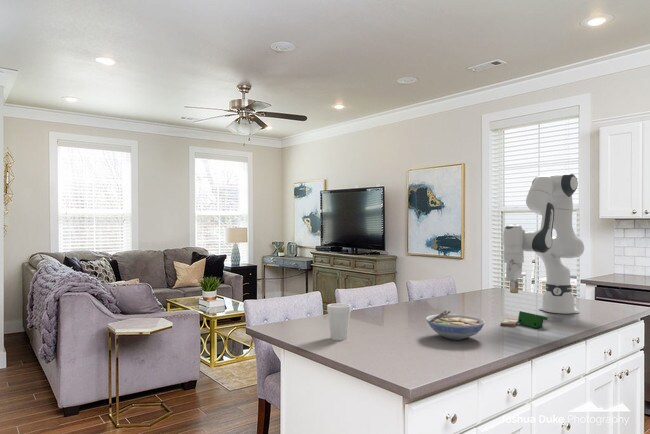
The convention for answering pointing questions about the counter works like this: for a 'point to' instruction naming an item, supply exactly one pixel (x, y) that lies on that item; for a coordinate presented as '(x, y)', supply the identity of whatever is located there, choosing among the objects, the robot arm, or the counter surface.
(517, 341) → the counter surface
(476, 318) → the ramen bowl
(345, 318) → the foam cup
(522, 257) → the robot arm
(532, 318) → the clamp
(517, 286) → the awl
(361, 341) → the counter surface
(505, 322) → the bandage strip
